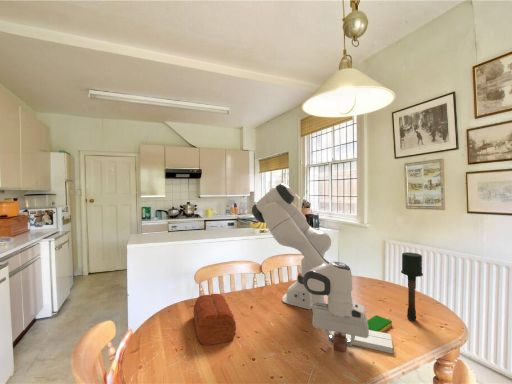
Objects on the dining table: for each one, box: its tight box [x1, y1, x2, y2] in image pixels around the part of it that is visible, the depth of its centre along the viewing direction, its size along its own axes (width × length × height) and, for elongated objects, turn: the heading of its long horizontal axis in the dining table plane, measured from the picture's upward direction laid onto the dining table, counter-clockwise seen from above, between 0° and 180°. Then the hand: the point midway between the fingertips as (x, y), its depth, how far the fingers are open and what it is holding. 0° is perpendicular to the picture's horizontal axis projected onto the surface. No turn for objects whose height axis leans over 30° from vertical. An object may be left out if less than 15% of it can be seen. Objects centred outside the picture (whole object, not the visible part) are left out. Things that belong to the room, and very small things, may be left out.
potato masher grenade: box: [400, 251, 424, 322], centre depth 120 cm, size 8×9×30 cm
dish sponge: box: [368, 315, 393, 333], centre depth 113 cm, size 7×14×2 cm, turn 128°
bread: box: [192, 293, 237, 346], centre depth 113 cm, size 16×27×11 cm, turn 18°
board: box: [329, 330, 394, 354], centre depth 104 cm, size 22×10×2 cm, turn 66°
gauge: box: [332, 332, 347, 353], centre depth 102 cm, size 4×13×6 cm, turn 156°
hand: (339, 343), depth 98 cm, fingers open, 6 cm apart
